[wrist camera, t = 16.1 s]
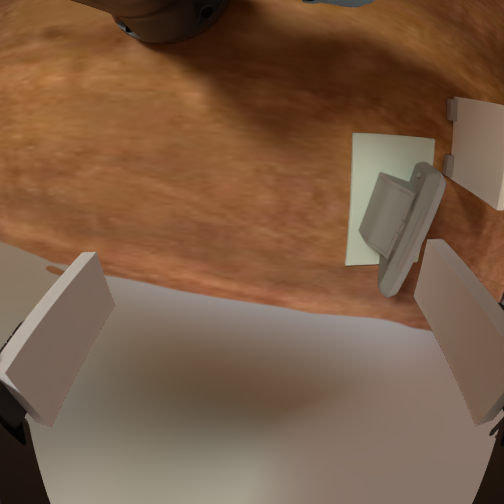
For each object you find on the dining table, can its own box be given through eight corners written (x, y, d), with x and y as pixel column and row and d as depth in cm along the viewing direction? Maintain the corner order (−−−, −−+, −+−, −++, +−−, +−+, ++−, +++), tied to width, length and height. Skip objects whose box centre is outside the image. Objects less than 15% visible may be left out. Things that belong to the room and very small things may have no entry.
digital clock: (385, 265, 43) (409, 310, 34) (336, 242, 42) (354, 287, 33) (442, 174, 36) (485, 202, 27) (395, 141, 34) (435, 160, 25)
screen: (447, 95, 31) (502, 104, 20) (466, 99, 30) (522, 110, 20) (442, 177, 37) (489, 209, 26) (460, 178, 36) (509, 210, 26)
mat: (351, 132, 35) (353, 133, 34) (433, 138, 34) (435, 139, 33) (344, 263, 44) (345, 265, 44) (416, 260, 43) (417, 262, 43)
